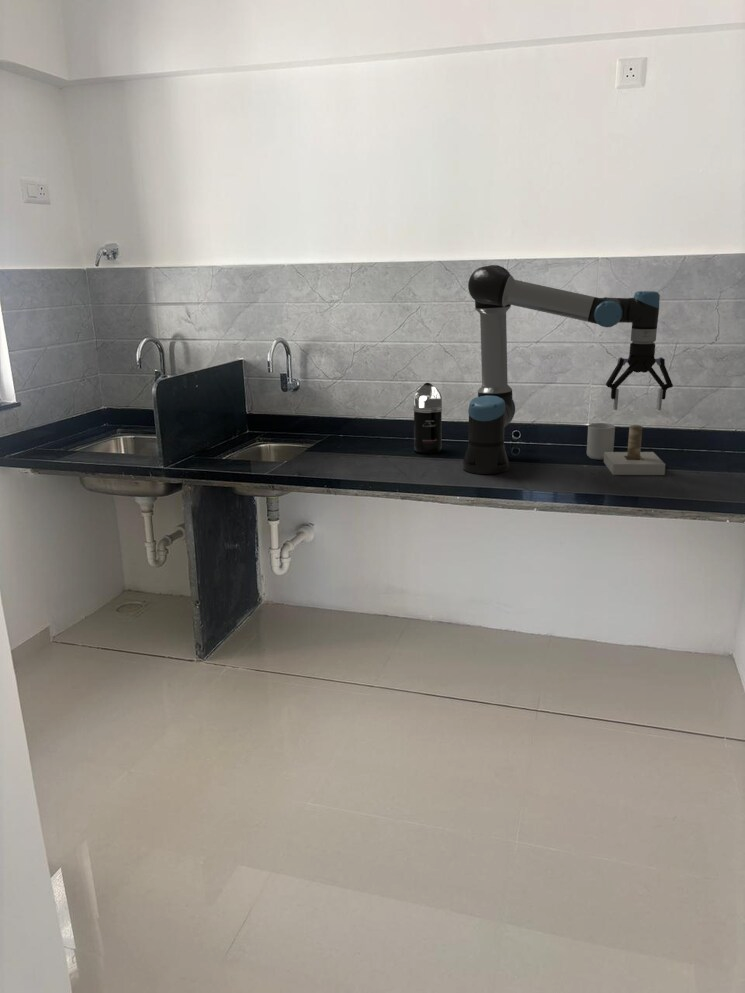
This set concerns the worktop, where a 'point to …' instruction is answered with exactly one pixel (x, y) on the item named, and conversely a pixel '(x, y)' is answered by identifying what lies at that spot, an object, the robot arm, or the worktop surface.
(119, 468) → the worktop surface
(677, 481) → the worktop surface
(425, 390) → the black silver bottle
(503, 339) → the robot arm
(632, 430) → the peg
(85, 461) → the worktop surface
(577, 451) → the worktop surface
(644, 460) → the socket block
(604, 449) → the mug
